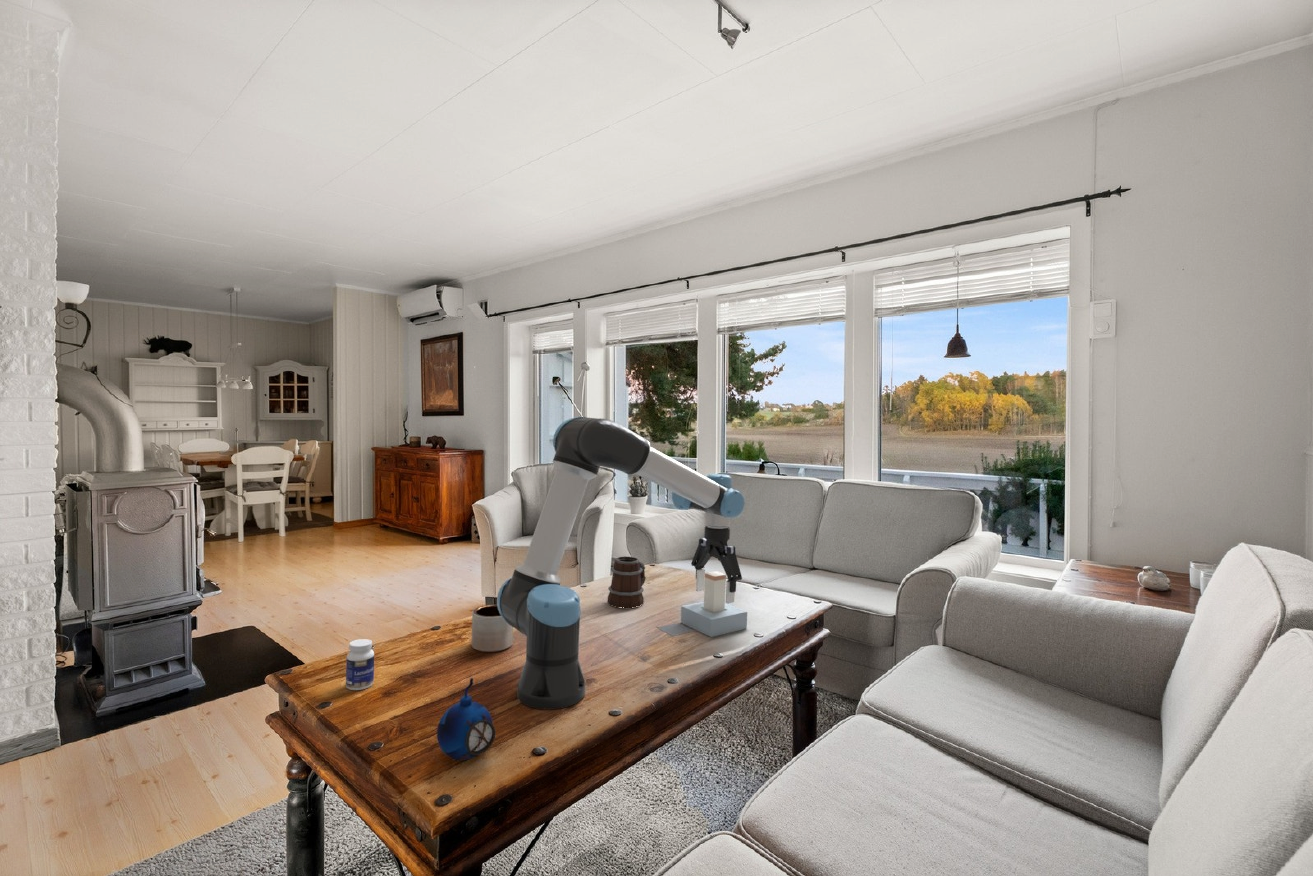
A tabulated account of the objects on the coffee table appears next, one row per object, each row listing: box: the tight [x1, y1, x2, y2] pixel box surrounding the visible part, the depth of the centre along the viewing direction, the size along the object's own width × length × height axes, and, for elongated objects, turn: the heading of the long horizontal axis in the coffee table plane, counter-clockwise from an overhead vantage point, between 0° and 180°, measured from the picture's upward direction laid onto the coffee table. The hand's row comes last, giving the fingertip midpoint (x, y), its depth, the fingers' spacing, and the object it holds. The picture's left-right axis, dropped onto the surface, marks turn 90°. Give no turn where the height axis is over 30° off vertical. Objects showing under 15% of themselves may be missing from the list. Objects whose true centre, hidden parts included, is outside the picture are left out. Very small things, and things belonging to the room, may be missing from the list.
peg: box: [703, 570, 727, 613], centre depth 185 cm, size 4×4×14 cm
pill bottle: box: [345, 638, 375, 691], centre depth 140 cm, size 6×6×10 cm
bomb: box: [436, 677, 497, 761], centre depth 113 cm, size 10×11×15 cm
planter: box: [470, 604, 514, 653], centre depth 166 cm, size 11×11×10 cm
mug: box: [607, 556, 647, 609], centre depth 208 cm, size 16×12×15 cm
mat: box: [656, 622, 695, 637], centre depth 181 cm, size 8×8×1 cm
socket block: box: [680, 601, 748, 638], centre depth 185 cm, size 14×14×6 cm
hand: (714, 596), depth 185 cm, fingers open, 13 cm apart
